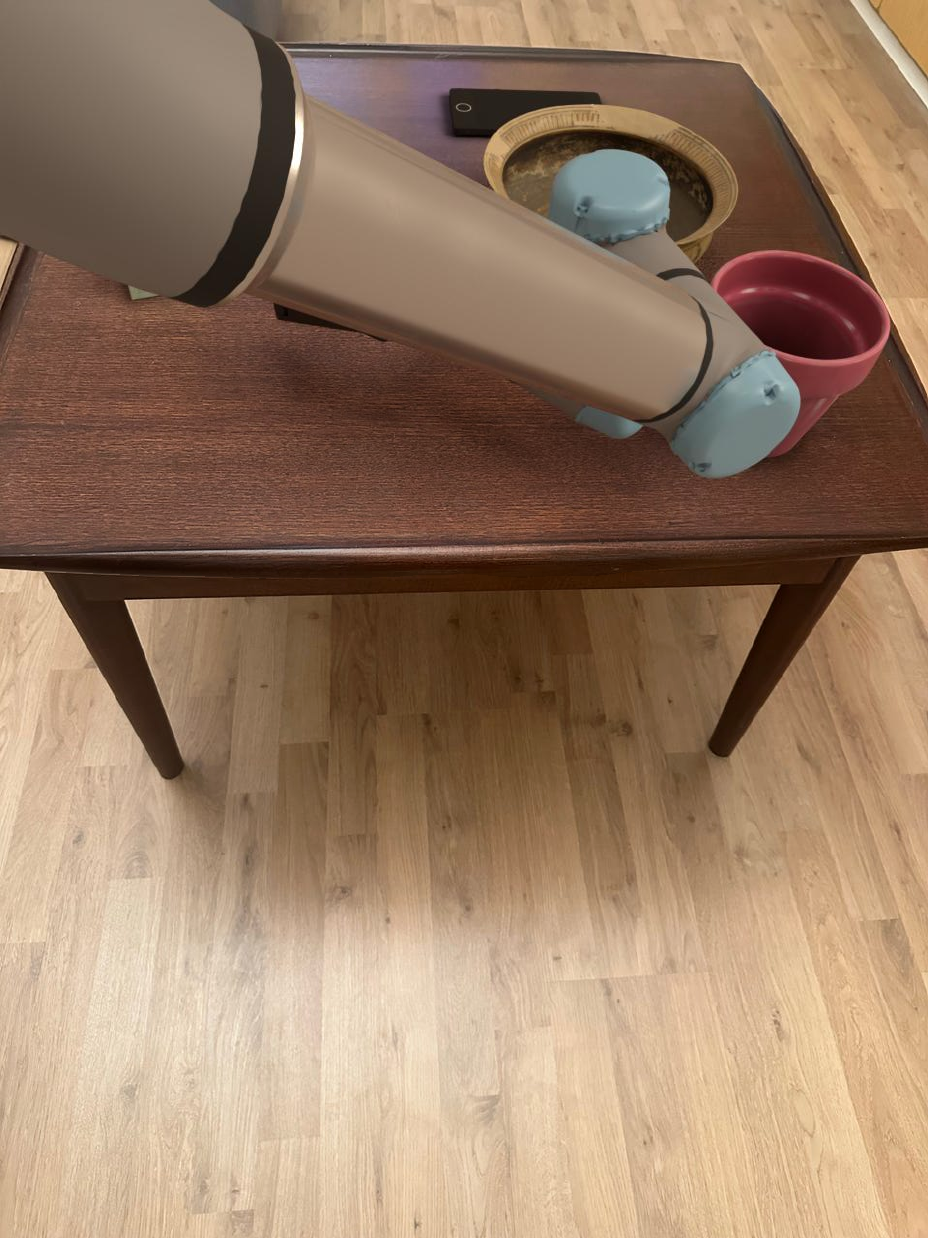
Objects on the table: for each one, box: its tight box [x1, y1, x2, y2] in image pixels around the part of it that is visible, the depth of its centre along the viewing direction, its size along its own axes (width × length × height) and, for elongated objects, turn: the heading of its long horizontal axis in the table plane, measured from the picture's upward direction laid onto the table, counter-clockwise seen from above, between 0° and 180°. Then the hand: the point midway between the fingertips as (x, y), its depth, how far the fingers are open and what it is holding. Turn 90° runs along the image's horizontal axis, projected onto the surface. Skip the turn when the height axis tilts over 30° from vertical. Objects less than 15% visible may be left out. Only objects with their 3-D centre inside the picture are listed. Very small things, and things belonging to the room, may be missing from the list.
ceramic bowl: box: [482, 104, 739, 265], centre depth 92 cm, size 30×24×10 cm
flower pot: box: [709, 249, 891, 459], centre depth 79 cm, size 14×14×13 cm
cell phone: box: [448, 87, 603, 136], centre depth 110 cm, size 9×18×1 cm, turn 94°
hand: (296, 207), depth 82 cm, fingers open, 13 cm apart
